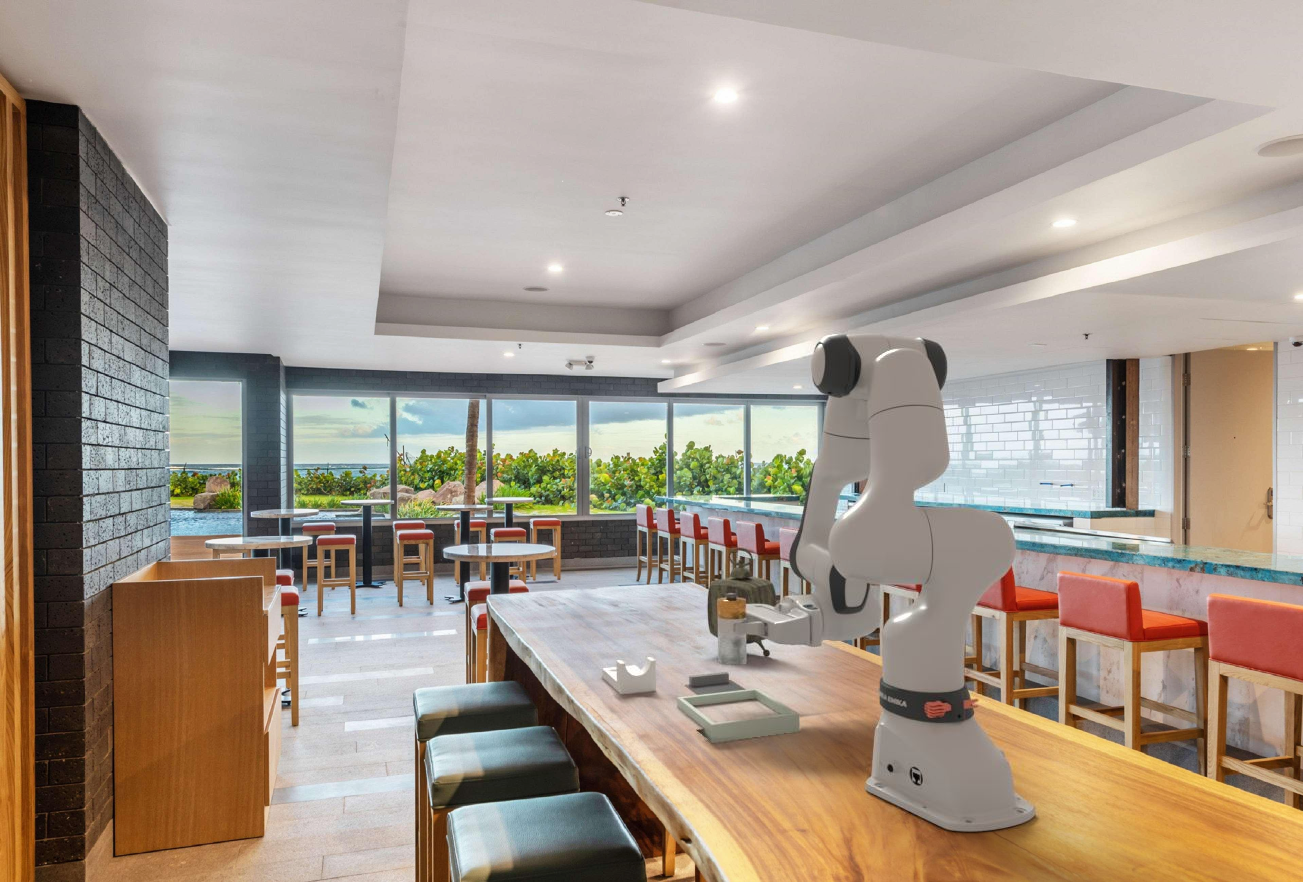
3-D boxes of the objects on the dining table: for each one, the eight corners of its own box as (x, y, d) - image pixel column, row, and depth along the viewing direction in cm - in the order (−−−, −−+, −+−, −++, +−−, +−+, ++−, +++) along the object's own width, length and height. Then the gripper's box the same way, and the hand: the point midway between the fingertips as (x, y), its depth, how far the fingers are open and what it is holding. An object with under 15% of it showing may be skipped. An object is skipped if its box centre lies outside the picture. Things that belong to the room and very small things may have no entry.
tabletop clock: (777, 656, 188) (776, 548, 188) (754, 664, 181) (752, 552, 182) (728, 647, 198) (726, 544, 198) (704, 654, 191) (703, 547, 192)
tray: (799, 731, 137) (799, 713, 137) (712, 743, 132) (711, 724, 132) (757, 704, 152) (757, 688, 152) (677, 714, 147) (677, 697, 147)
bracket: (656, 699, 157) (655, 660, 157) (620, 703, 155) (620, 663, 155) (635, 682, 169) (634, 645, 169) (602, 685, 167) (601, 648, 167)
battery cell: (751, 663, 143) (750, 595, 143) (725, 666, 141) (724, 596, 141) (739, 657, 148) (738, 591, 148) (713, 660, 146) (712, 592, 146)
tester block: (752, 701, 154) (752, 684, 154) (703, 707, 151) (703, 689, 151) (730, 687, 164) (730, 671, 164) (684, 692, 160) (684, 676, 160)
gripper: (770, 594, 159) (704, 598, 154) (825, 611, 139) (752, 617, 135) (770, 626, 158) (704, 632, 154) (826, 648, 139) (752, 655, 135)
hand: (727, 625), depth 144 cm, fingers closed on battery cell, 5 cm apart
